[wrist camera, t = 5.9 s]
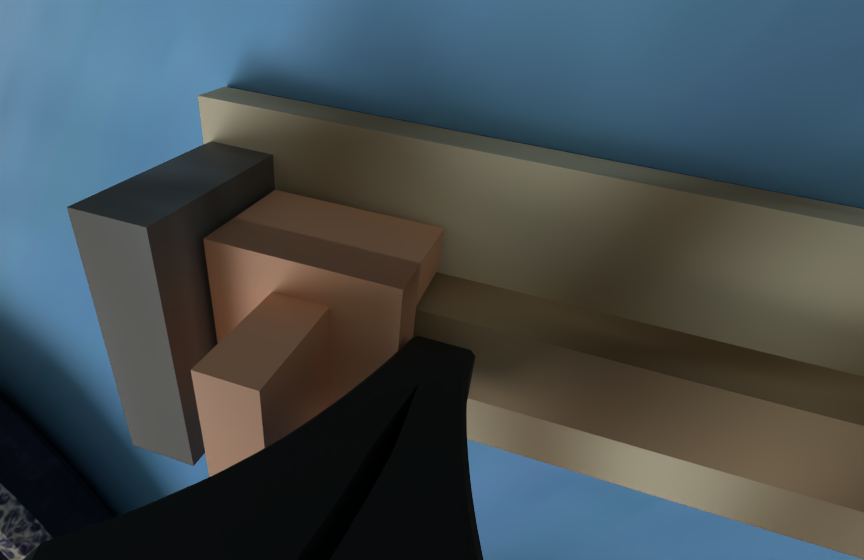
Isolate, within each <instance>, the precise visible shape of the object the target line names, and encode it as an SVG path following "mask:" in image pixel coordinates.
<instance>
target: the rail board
mask: <svg viewBox="0 0 864 560" xmlns="http://www.w3.org/2000/svg"><path fill="white" fill-rule="evenodd" d="M198 100H199V108H200V116H201V124H202V132H203V140H204V145H202V146H199V147H197V148H195V149H193V150H191V151H189V152H186V153H184V154H182V155H180V156H178V157H175V158H173V159H171V160H169V161H167V162H164V163H162V164H160V165H158V166H156V167H154V168H151V169H149V170H147V171H145V172H143V173H140V174H138V175H136V176H134V177H132V178H130V179H127V180H125V181H123V182H121V183H119V184H116V185H114V186H112V187H110V188H108V189H106V190H103V191H101V192H99V193H97V194H95V195H92V196H90V197H88V198H86V199H84V200H82V201H79V202H77V203H75V204H73V205H71V206H68V207H67V209H68V213H69V216H70V220H71V224H72V227H73V231H74V234H75V238H76V242H77V245H78V249H79V252H80V256H81V260H82V263H83V267H84V270H85V274H86V278H87V281H88V285H89V288H90V292H91V296H92V299H93V303H94V306H95V310H96V313H97V317H98V321H99V324H100V328H101V331H102V335H103V339H104V342H105V346H106V349H107V353H108V357H109V360H110V364H111V367H112V371H113V375H114V378H115V382H116V385H117V389H118V393H119V396H120V400H121V403H122V407H123V411H124V414H125V418H126V421H127V425H128V429H129V432H130V436H131V439H132V443H133V445H135V446H138V447H140V448H143V449H146V450H149V451H152V452H155V453H158V454H161V455H163V456H166V457H169V458H172V459H175V460H178V461H181V462H184V463H186V464H189V465H192V466H194V465H195V464H196V462H197V461H198V460H199V459H200V458H201V457H202V455H203V454H204V453H205V448H204V442H203V437H202V431H201V425H200V420H199V414H198V409H197V403H196V397H195V392H194V386H193V380H192V375H191V369H192V368H193V367H194V366H195V365H196V364H197V363H198V362H199V361H200V360H202V359H203V358H204V357H205V356H206V355H207V354H208V353H209V352H210V351H211V350H212V349H213V348H214V347H215V346H216V345H217V344H218V343H217V335H216V328H215V321H214V314H213V306H212V299H211V292H210V285H209V277H208V270H207V263H206V256H205V249H204V241H203V239H204V238H205V237H206V236H208V235H209V234H211V233H212V232H214V231H215V230H217V229H218V228H220V227H221V226H223V225H224V224H226V223H227V222H229V221H230V220H232V219H233V218H234V217H236V216H237V215H239V214H240V213H242V212H243V211H245V210H246V209H248V208H249V207H251V206H252V205H254V204H255V203H257V202H258V201H259V200H261V199H262V198H264V197H265V196H267V195H268V194H270V193H271V192H273V191H274V190H278V191H283V192H287V193H292V194H296V195H300V196H305V197H309V198H314V199H318V200H322V201H327V202H331V203H335V204H340V205H344V206H349V207H353V208H357V209H362V210H366V211H370V212H375V213H379V214H384V215H388V216H392V217H397V218H401V219H405V220H410V221H414V222H419V223H423V224H427V225H432V226H436V227H441V228H444V229H443V237H442V246H441V254H440V262H439V268H438V270H437V272H436V274H435V275H434V277H433V279H432V280H431V282H430V284H429V285H428V287H427V289H426V290H425V292H424V294H423V295H422V297H421V299H420V300H419V302H418V304H417V306H416V313H415V322H414V332H413V337H415V336H421V337H425V338H428V339H432V340H436V341H439V342H443V343H447V344H451V345H454V346H458V347H462V348H465V349H469V350H471V351H472V352H473V354H474V355H475V362H474V367H473V372H472V378H471V383H470V389H469V394H468V400H467V439H469V440H472V441H476V442H479V443H482V444H485V445H489V446H492V447H495V448H499V449H502V450H505V451H509V452H512V453H515V454H518V455H522V456H525V457H528V458H532V459H535V460H538V461H541V462H545V463H548V464H551V465H555V466H558V467H561V468H565V469H568V470H571V471H574V472H578V473H581V474H584V475H588V476H591V477H594V478H598V479H601V480H604V481H607V482H611V483H614V484H617V485H621V486H624V487H627V488H630V489H634V490H637V491H640V492H644V493H647V494H650V495H654V496H657V497H660V498H663V499H667V500H670V501H673V502H677V503H680V504H683V505H687V506H690V507H693V508H696V509H700V510H703V511H706V512H710V513H713V514H716V515H719V516H723V517H726V518H729V519H733V520H736V521H739V522H743V523H746V524H749V525H752V526H756V527H759V528H762V529H766V530H769V531H772V532H776V533H779V534H782V535H785V536H789V537H792V538H795V539H799V540H802V541H805V542H809V543H812V544H815V545H818V546H822V547H825V548H828V549H832V550H835V551H838V552H841V553H845V554H848V555H851V556H855V557H858V558H861V559H864V209H861V208H856V207H850V206H845V205H840V204H835V203H829V202H824V201H819V200H814V199H809V198H803V197H798V196H793V195H788V194H783V193H777V192H772V191H767V190H762V189H756V188H751V187H746V186H741V185H736V184H730V183H725V182H720V181H715V180H709V179H704V178H699V177H694V176H689V175H683V174H678V173H673V172H668V171H663V170H657V169H652V168H647V167H642V166H636V165H631V164H626V163H621V162H616V161H610V160H605V159H600V158H595V157H589V156H584V155H579V154H574V153H569V152H563V151H558V150H553V149H548V148H543V147H537V146H532V145H527V144H522V143H516V142H511V141H506V140H501V139H496V138H490V137H485V136H480V135H475V134H469V133H464V132H459V131H454V130H449V129H443V128H438V127H433V126H428V125H423V124H417V123H412V122H407V121H402V120H396V119H391V118H386V117H381V116H376V115H370V114H365V113H360V112H355V111H349V110H344V109H339V108H334V107H329V106H323V105H318V104H313V103H308V102H303V101H297V100H292V99H287V98H282V97H276V96H271V95H266V94H261V93H256V92H250V91H245V90H240V89H235V88H229V87H222V88H219V89H216V90H213V91H210V92H207V93H205V94H202V95H199V96H198Z"/></svg>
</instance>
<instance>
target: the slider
mask: <svg viewBox="0 0 864 560" xmlns="http://www.w3.org/2000/svg"><path fill="white" fill-rule="evenodd" d="M443 229H444V228H441V227H436V226H432V225H427V224H423V223H419V222H414V221H410V220H405V219H401V218H397V217H392V216H388V215H384V214H379V213H375V212H370V211H366V210H362V209H357V208H353V207H349V206H344V205H340V204H335V203H331V202H327V201H322V200H318V199H314V198H309V197H305V196H300V195H296V194H292V193H287V192H283V191H278V190H274V191H273V192H271V193H270V194H268V195H267V196H265V197H264V198H262V199H261V200H259V201H258V202H257V203H255V204H254V205H252V206H251V207H249V208H248V209H246V210H245V211H243V212H242V213H240V214H239V215H237V216H236V217H234V218H233V219H232V220H230V221H229V222H227V223H226V224H224V225H223V226H221V227H220V228H218V229H217V230H215V231H214V232H212V233H211V234H209V235H208V236H206V237H205V238H204V239H203V241H204V249H205V256H206V263H207V270H208V277H209V285H210V292H211V299H212V306H213V314H214V321H215V328H216V335H217V343H218V344H217V345H216V346H215V347H214V348H213V349H212V350H211V351H210V352H209V353H208V354H207V355H206V356H205V357H204V358H203V359H202V360H200V361H199V362H198V363H197V364H196V365H195V366H194V367H193V368H192V369H191V375H192V380H193V386H194V392H195V397H196V403H197V409H198V414H199V420H200V425H201V431H202V437H203V442H204V448H205V454H206V459H207V465H208V470H209V476H210V477H211V476H213V475H215V474H217V473H219V472H221V471H223V470H225V469H227V468H229V467H230V466H232V465H234V464H236V463H238V462H240V461H242V460H244V459H246V458H247V457H249V456H251V455H253V454H255V453H257V452H259V451H260V450H262V449H264V448H266V447H267V446H269V445H271V444H272V443H274V442H276V441H277V440H279V439H281V438H283V437H284V436H286V435H287V434H289V433H291V432H292V431H294V430H295V429H297V428H298V427H300V426H301V425H303V424H305V423H306V422H308V421H309V420H311V419H312V418H313V417H315V416H316V415H318V414H319V413H320V412H322V411H323V410H325V409H326V408H328V407H329V406H330V405H332V404H333V403H335V402H336V401H337V400H339V399H340V398H342V397H343V396H344V395H346V394H347V393H348V392H349V391H351V390H352V389H353V388H354V387H356V386H357V385H358V384H359V383H361V382H362V381H363V380H364V379H366V378H367V377H368V376H370V375H371V374H372V373H373V372H374V371H376V370H377V369H378V368H379V367H380V366H381V365H383V364H384V363H385V362H386V361H387V360H388V359H390V358H391V357H392V356H393V355H394V354H395V353H396V352H397V351H398V350H400V349H401V348H402V347H403V346H404V345H405V344H406V343H407V342H408V341H409V340H410V339H411V338H413V332H414V322H415V313H416V306H417V304H418V302H419V300H420V299H421V297H422V295H423V294H424V292H425V290H426V289H427V287H428V285H429V284H430V282H431V280H432V279H433V277H434V275H435V274H436V272H437V270H438V268H439V262H440V254H441V246H442V237H443Z"/></svg>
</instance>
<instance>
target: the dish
mask: <svg viewBox="0 0 864 560" xmlns="http://www.w3.org/2000/svg"><path fill="white" fill-rule="evenodd" d="M111 518H113V516H112V515H111V514H110V513H109V511H108V510H107V509H106V507H105V506H104V505H103V504H102V502H101V501H100V500H99V499H98V497H97V496H96V495H95V494H94V493H93V492H92V490H91V489H90V488H89V487H88V486H87V485H86V483H85V482H84V481H83V480H82V479H81V477H80V476H79V475H78V474H77V473H76V472H75V471H74V470H73V469H72V468H71V466H70V465H69V464H68V463H67V462H66V461H65V460H64V459H63V458H62V457H61V456H60V454H59V453H58V452H57V451H56V450H55V449H54V448H53V447H52V446H51V445H50V444H49V443H48V442H47V441H46V440H45V439H44V438H43V437H42V436H41V435H40V434H39V433H38V432H37V431H36V430H35V429H34V428H33V427H32V426H31V425H30V424H29V423H27V422H26V421H25V420H24V419H23V418H22V417H21V416H20V415H19V414H18V413H17V412H16V411H15V410H14V409H13V408H11V407H10V406H9V405H8V404H7V403H5V402H4V401H3V400H2V399H1V398H0V560H23V559H24V558H25V557H26V556H27V555H29V554H30V553H31V552H32V551H33V550H34V549H35V548H36V547H37V546H39V545H40V544H41V543H42V542H45V541H48V540H51V539H54V538H57V537H60V536H63V535H66V534H69V533H72V532H74V531H77V530H80V529H83V528H86V527H89V526H91V525H94V524H97V523H100V522H103V521H106V520H108V519H111Z"/></svg>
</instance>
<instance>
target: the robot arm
mask: <svg viewBox="0 0 864 560" xmlns="http://www.w3.org/2000/svg"><path fill="white" fill-rule="evenodd" d="M474 362H475V355H474V354H473V352H472V351H471V350H469V349H465V348H462V347H458V346H454V345H451V344H447V343H443V342H439V341H436V340H432V339H428V338H425V337H421V336H415V337H413V338H411V339H410V340H409V341H408V342H407V343H406V344H405V345H404V346H403V347H402V348H401V349H400V350H398V351H397V352H396V353H395V354H394V355H393V356H392V357H391V358H390V359H388V360H387V361H386V362H385V363H384V364H383V365H381V366H380V367H379V368H378V369H377V370H376V371H374V372H373V373H372V374H371V375H370V376H368V377H367V378H366V379H364V380H363V381H362V382H361V383H359V384H358V385H357V386H356V387H354V388H353V389H352V390H351V391H349V392H348V393H347V394H346V395H344V396H343V397H342V398H340V399H339V400H337V401H336V402H335V403H333V404H332V405H330V406H329V407H328V408H326V409H325V410H323V411H322V412H320V413H319V414H318V415H316V416H315V417H313V418H312V419H311V420H309V421H308V422H306V423H305V424H303V425H301V426H300V427H298V428H297V429H295V430H294V431H292V432H291V433H289V434H287V435H286V436H284V437H283V438H281V439H279V440H277V441H276V442H274V443H272V444H271V445H269V446H267V447H266V448H264V449H262V450H260V451H259V452H257V453H255V454H253V455H251V456H249V457H247V458H246V459H244V460H242V461H240V462H238V463H236V464H234V465H232V466H230V467H229V468H227V469H225V470H223V471H221V472H219V473H217V474H215V475H213V476H211V477H209V478H207V479H204V480H202V481H200V482H198V483H196V484H194V485H191V486H189V487H187V488H184V489H182V490H180V491H177V492H175V493H173V494H171V495H168V496H166V497H164V498H161V499H159V500H157V501H154V502H152V503H150V504H148V505H145V506H143V507H140V508H138V509H135V510H133V511H130V512H128V513H125V514H123V515H120V516H117V517H114V518H111V519H108V520H106V521H103V522H100V523H97V524H94V525H91V526H89V527H86V528H83V529H80V530H77V531H74V532H72V533H69V534H66V535H63V536H60V537H57V538H54V539H51V540H48V541H45V542H42V543H41V544H40V545H39V546H37V547H36V548H35V549H34V550H33V551H32V552H31V553H30V554H29V555H27V556H26V557H25V558H24V559H23V560H483V556H482V551H481V545H480V540H479V535H478V530H477V524H476V518H475V511H474V505H473V498H472V491H471V482H470V473H469V462H468V449H467V400H468V394H469V389H470V383H471V378H472V372H473V367H474Z"/></svg>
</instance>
